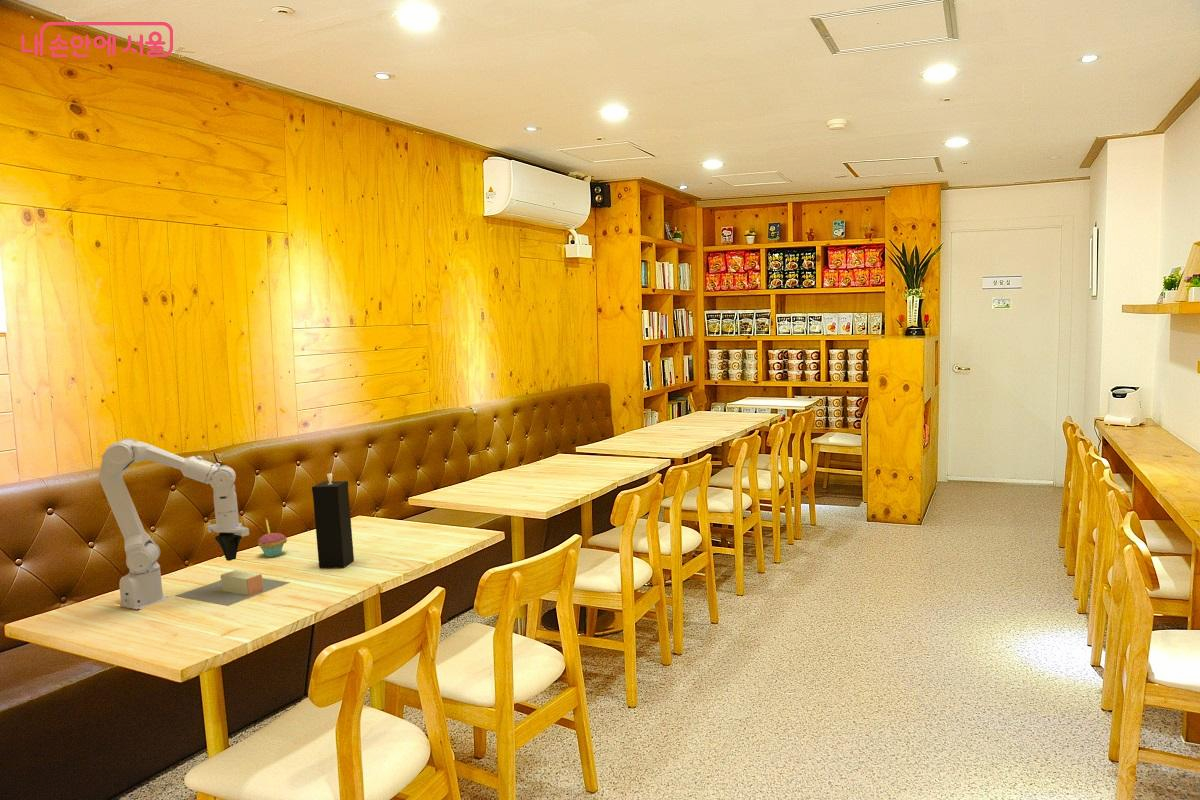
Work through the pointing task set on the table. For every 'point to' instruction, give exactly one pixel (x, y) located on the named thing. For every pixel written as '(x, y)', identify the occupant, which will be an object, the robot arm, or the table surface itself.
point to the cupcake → (271, 543)
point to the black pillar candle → (333, 523)
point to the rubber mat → (217, 596)
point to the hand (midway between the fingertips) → (231, 559)
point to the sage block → (241, 582)
